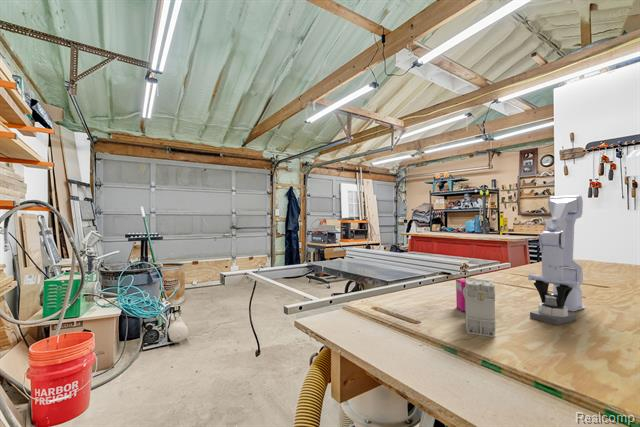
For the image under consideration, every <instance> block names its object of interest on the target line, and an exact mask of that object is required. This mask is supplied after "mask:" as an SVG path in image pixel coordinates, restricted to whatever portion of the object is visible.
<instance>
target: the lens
mask: <svg viewBox="0 0 640 427" xmlns="http://www.w3.org/2000/svg"><path fill="white" fill-rule="evenodd" d="M544 297H545V306H546V307H550V308H557V309H561V307H559V306H558V294H557V293H553V292H546V293H545V294H544Z"/></svg>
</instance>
